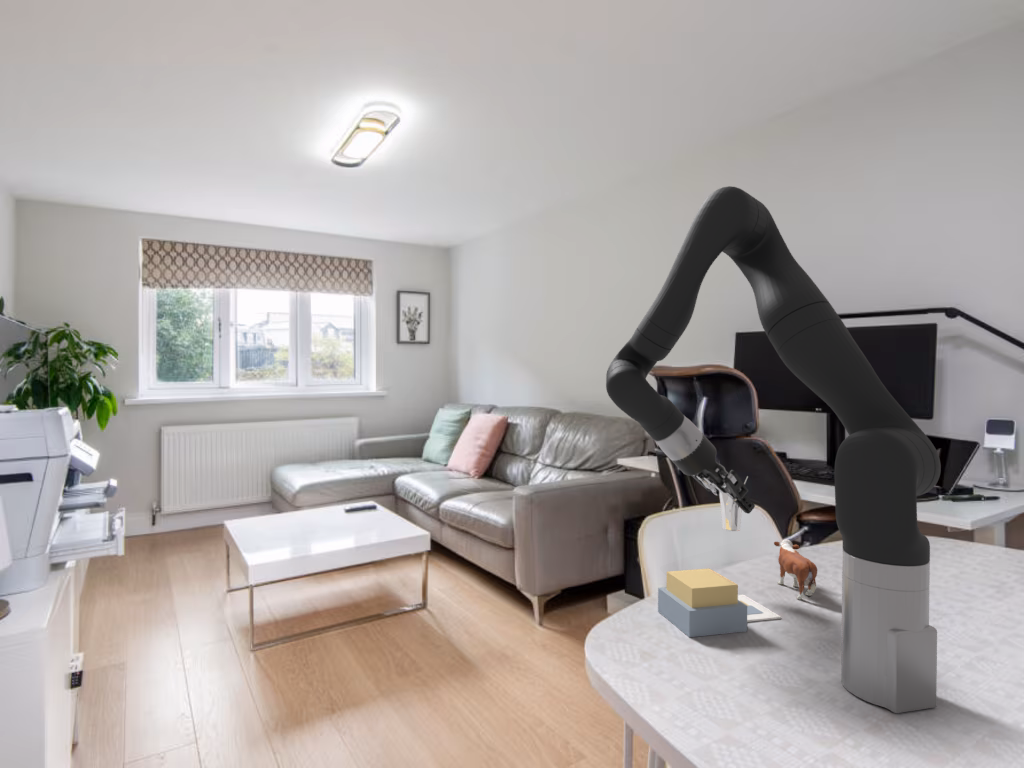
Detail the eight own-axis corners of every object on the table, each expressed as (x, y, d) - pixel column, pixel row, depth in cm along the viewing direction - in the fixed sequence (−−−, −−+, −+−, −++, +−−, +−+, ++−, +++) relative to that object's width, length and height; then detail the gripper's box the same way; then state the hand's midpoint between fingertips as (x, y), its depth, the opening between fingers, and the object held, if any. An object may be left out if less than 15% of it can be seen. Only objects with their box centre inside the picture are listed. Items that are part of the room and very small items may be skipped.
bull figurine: (792, 577, 114) (792, 537, 114) (822, 604, 101) (822, 557, 101) (769, 577, 115) (769, 536, 115) (796, 602, 101) (796, 556, 101)
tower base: (747, 631, 89) (747, 586, 89) (689, 637, 87) (689, 591, 87) (710, 606, 99) (711, 566, 99) (658, 611, 97) (658, 570, 97)
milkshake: (752, 532, 105) (752, 478, 105) (723, 532, 105) (723, 478, 105) (742, 526, 110) (743, 474, 110) (714, 526, 110) (715, 474, 110)
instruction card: (781, 618, 94) (781, 616, 94) (743, 622, 93) (743, 620, 93) (743, 596, 104) (743, 594, 104) (708, 599, 102) (708, 597, 102)
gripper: (719, 432, 99) (780, 499, 102) (677, 427, 113) (731, 486, 116) (692, 464, 98) (754, 531, 101) (653, 454, 112) (708, 514, 115)
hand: (742, 506), depth 108 cm, fingers closed on milkshake, 4 cm apart
